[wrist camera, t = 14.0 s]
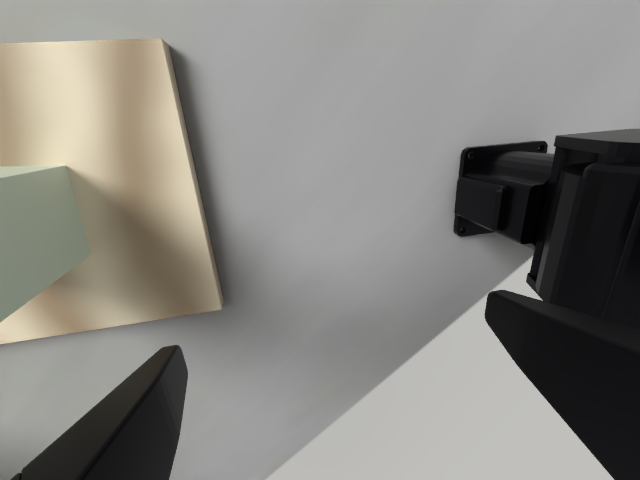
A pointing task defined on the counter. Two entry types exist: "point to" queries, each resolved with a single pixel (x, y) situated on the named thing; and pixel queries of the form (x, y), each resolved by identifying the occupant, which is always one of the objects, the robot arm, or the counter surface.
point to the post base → (110, 182)
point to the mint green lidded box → (36, 232)
